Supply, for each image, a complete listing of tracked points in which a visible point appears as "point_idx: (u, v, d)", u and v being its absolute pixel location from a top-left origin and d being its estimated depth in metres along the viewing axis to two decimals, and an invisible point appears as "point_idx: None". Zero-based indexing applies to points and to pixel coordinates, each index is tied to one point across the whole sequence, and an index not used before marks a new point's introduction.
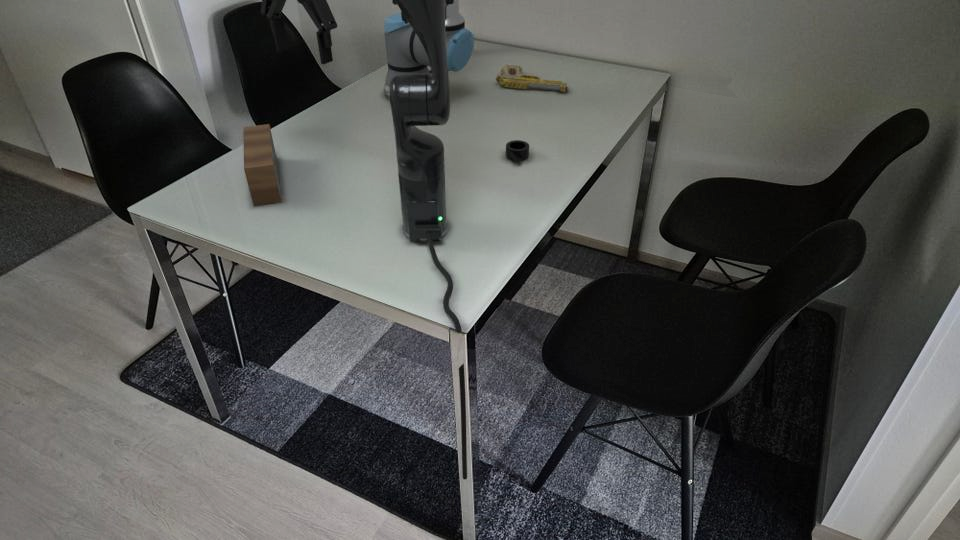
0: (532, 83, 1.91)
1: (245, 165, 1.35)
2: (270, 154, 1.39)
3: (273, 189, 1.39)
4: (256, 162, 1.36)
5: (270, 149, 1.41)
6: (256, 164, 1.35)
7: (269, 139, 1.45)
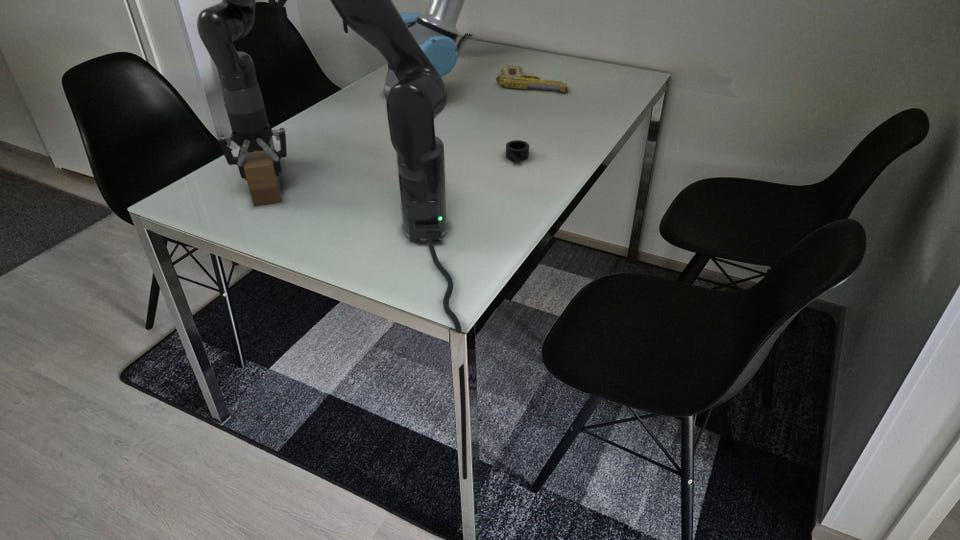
0: (532, 83, 1.91)
1: (245, 165, 1.35)
2: None
3: (273, 189, 1.39)
4: (255, 162, 1.36)
5: None
6: (256, 164, 1.35)
7: None
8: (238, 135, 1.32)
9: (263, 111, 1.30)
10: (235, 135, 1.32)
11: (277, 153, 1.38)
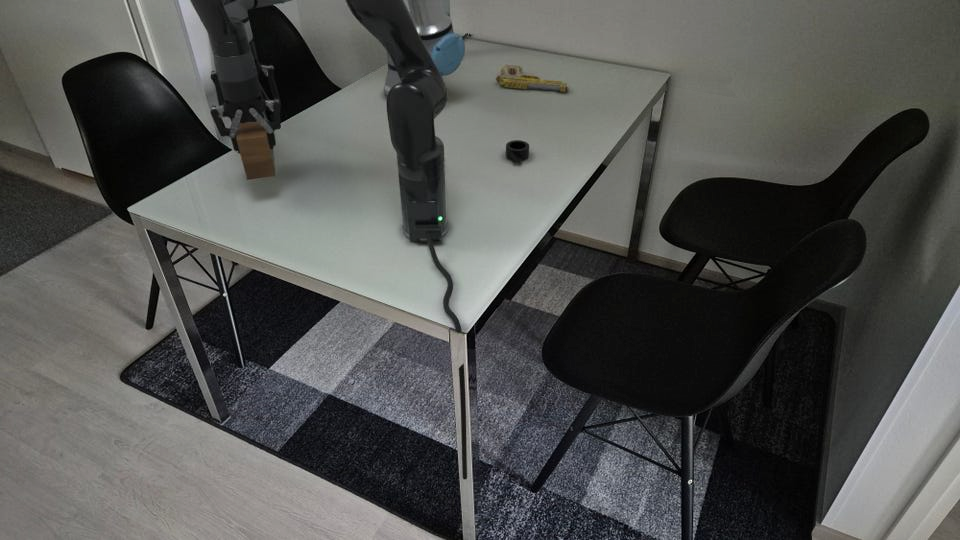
0: (532, 83, 1.91)
1: (238, 136, 1.31)
2: None
3: (266, 162, 1.35)
4: (249, 134, 1.32)
5: None
6: (249, 136, 1.31)
7: (263, 112, 1.41)
8: (230, 105, 1.28)
9: (256, 79, 1.26)
10: (227, 105, 1.28)
11: (271, 125, 1.34)
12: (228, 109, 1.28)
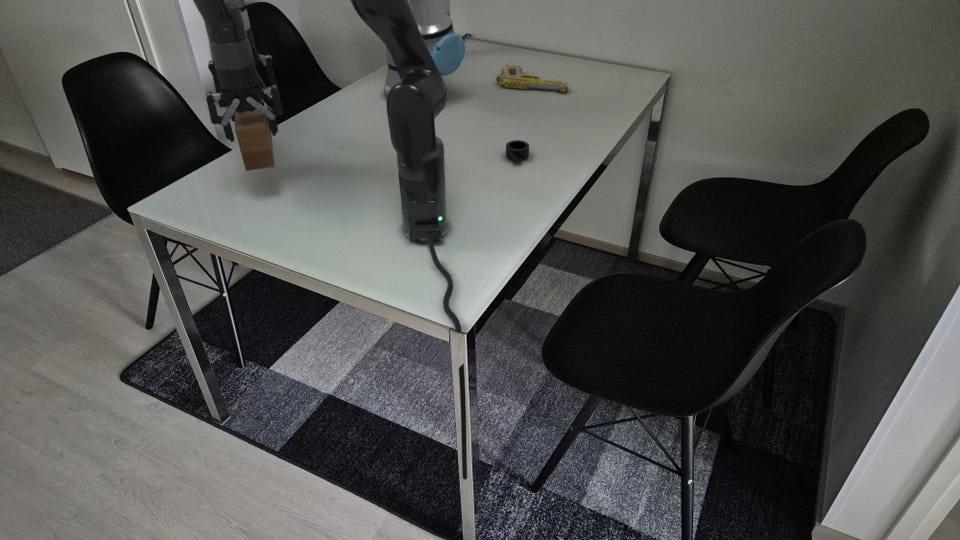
0: (532, 83, 1.91)
1: (236, 127, 1.30)
2: (262, 116, 1.34)
3: (265, 152, 1.33)
4: (247, 124, 1.30)
5: None
6: (247, 126, 1.30)
7: None
8: (228, 94, 1.26)
9: (253, 67, 1.24)
10: (225, 93, 1.25)
11: (273, 111, 1.31)
12: (225, 98, 1.26)
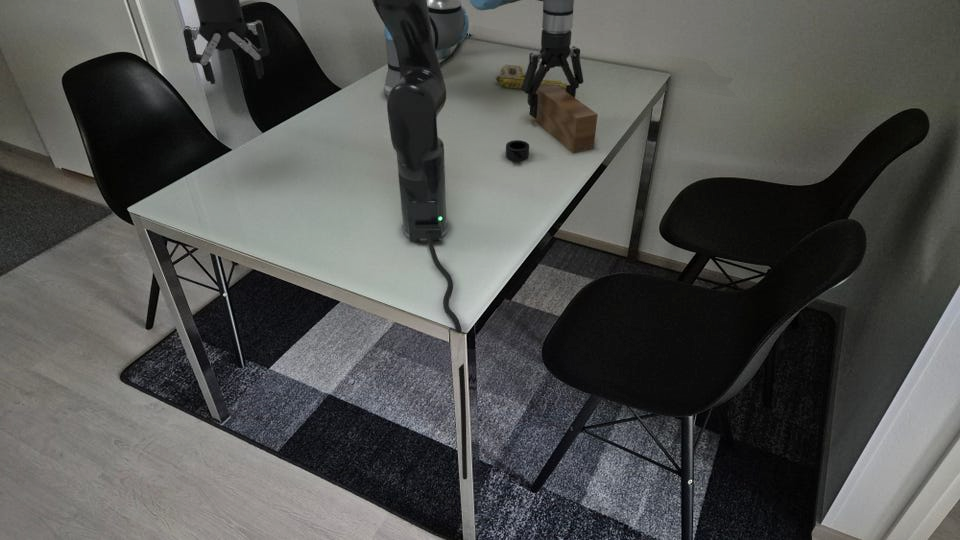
0: None
1: (575, 116, 1.55)
2: (586, 106, 1.59)
3: (591, 137, 1.59)
4: (581, 113, 1.56)
5: (581, 103, 1.61)
6: (583, 114, 1.55)
7: None
8: (208, 28, 1.13)
9: None
10: (204, 27, 1.13)
11: (258, 50, 1.18)
12: (204, 33, 1.13)
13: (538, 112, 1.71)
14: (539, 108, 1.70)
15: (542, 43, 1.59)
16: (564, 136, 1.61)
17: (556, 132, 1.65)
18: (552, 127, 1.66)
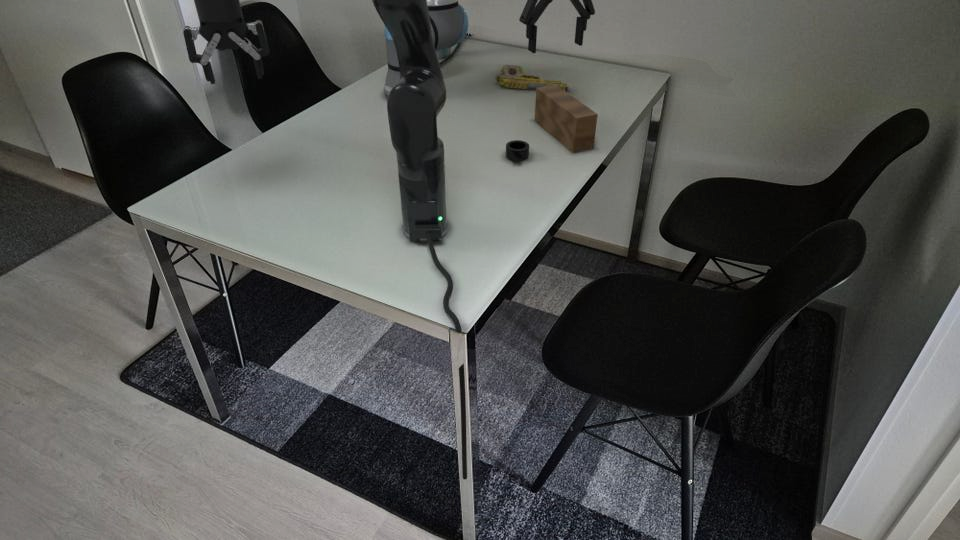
0: (532, 83, 1.91)
1: (575, 116, 1.55)
2: (586, 106, 1.59)
3: (591, 137, 1.59)
4: (581, 113, 1.56)
5: (581, 103, 1.61)
6: (583, 114, 1.55)
7: None
8: (208, 28, 1.13)
9: None
10: (204, 27, 1.13)
11: (258, 50, 1.18)
12: (204, 33, 1.13)
13: (538, 112, 1.71)
14: (539, 108, 1.70)
15: None
16: (564, 136, 1.61)
17: (556, 132, 1.65)
18: (552, 127, 1.66)
